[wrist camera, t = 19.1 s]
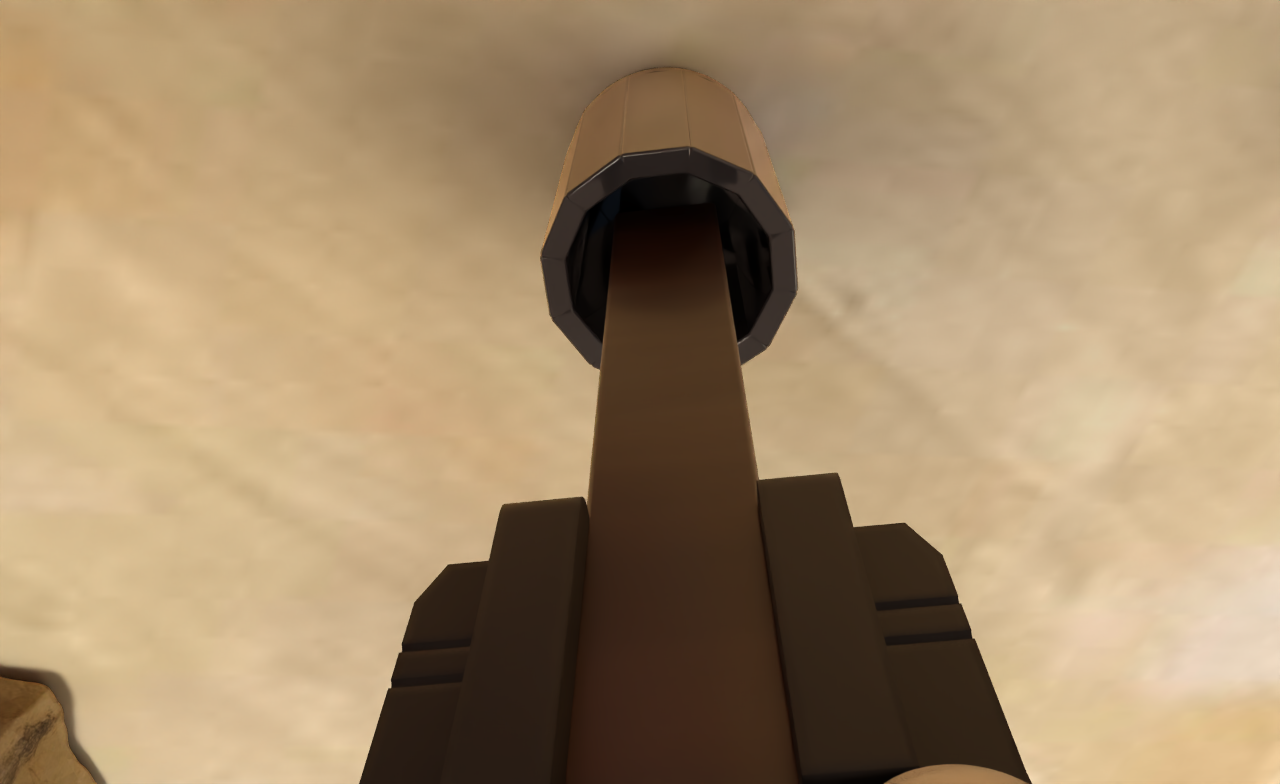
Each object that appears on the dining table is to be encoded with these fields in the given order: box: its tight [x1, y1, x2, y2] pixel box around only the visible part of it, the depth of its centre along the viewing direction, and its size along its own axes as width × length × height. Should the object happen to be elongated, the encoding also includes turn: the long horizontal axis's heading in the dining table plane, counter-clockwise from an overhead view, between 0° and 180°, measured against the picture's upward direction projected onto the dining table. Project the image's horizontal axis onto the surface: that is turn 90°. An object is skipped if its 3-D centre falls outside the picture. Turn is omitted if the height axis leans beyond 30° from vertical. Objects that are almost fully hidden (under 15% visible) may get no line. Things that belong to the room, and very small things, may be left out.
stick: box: [565, 203, 799, 784], centre depth 12 cm, size 2×2×14 cm
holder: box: [540, 67, 798, 369], centre depth 20 cm, size 4×4×6 cm
